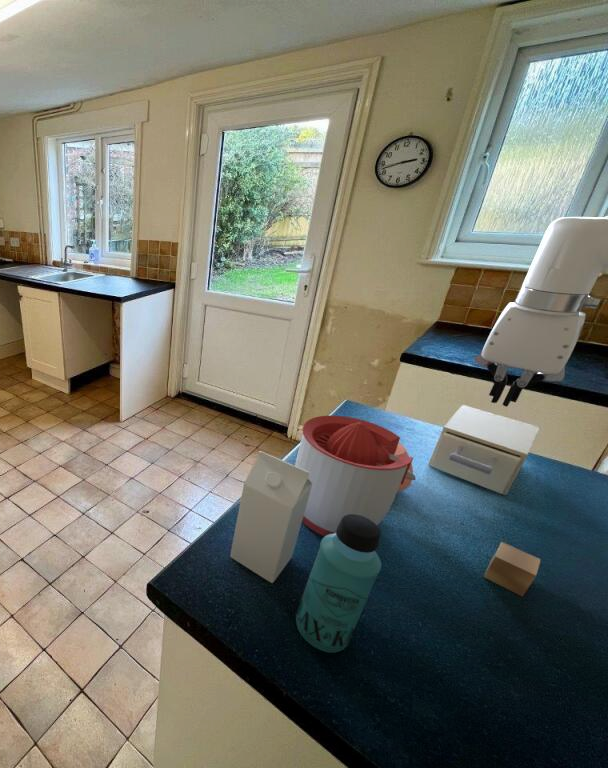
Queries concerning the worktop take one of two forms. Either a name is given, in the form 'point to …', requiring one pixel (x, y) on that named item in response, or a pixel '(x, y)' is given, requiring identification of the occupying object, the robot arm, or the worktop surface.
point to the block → (512, 569)
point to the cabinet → (492, 433)
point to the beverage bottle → (339, 584)
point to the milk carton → (270, 515)
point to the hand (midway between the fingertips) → (500, 401)
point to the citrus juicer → (349, 470)
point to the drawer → (475, 462)
